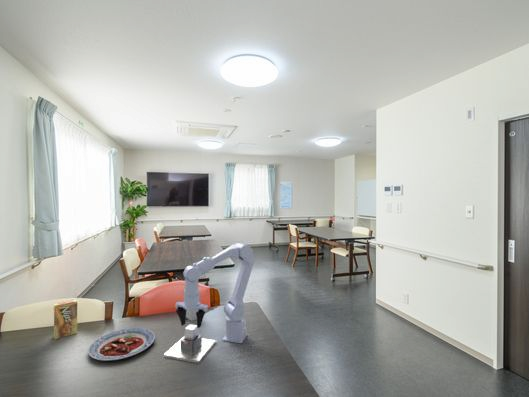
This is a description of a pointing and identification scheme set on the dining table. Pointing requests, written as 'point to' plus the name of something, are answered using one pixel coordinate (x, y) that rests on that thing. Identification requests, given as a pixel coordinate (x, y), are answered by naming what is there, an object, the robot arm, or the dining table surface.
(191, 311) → the skincare box
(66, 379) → the dining table surface
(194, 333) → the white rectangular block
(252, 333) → the dining table surface
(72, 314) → the candy box
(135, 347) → the ceramic plate
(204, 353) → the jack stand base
